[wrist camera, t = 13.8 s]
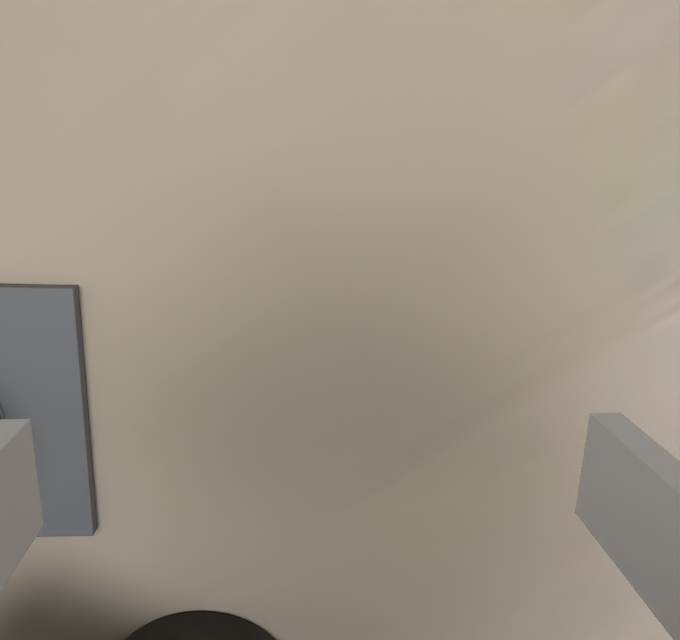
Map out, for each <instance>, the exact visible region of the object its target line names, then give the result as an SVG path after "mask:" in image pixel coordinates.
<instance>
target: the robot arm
mask: <svg viewBox="0 0 680 640" xmlns="http://www.w3.org/2000/svg"><path fill="white" fill-rule="evenodd" d="M575 513H576V514H577V515H578V516H579V518H580V519H581V520H582V522H583V523H584V524H585V526H586V527H587V528H588V529H589V531H590V532H591V533H592V535H593V536H594V537H595V538H596V540H597V541H598V542H599V544H600V545H601V546H602V548H603V549H604V550H605V551H606V553H607V554H608V555H609V557H610V558H611V559H612V561H613V562H614V563H615V564H616V566H617V567H618V568H619V570H620V571H621V572H622V574H623V575H624V576H625V577H626V579H627V580H628V581H629V583H630V584H631V585H632V586H633V588H634V589H635V590H636V592H637V593H638V594H639V596H640V597H641V598H642V599H643V601H644V602H645V603H646V605H647V606H648V607H649V609H650V610H651V611H652V612H653V614H654V615H655V616H656V618H657V619H658V620H659V622H660V623H661V624H662V625H663V627H664V628H665V629H666V631H667V632H668V633H669V634H670V636H671V637H672V638H673V640H680V461H679V460H677V459H676V458H675V457H674V456H672V455H671V454H670V453H669V452H668V451H666V450H665V449H664V448H663V447H661V446H660V445H659V444H658V443H657V442H655V441H654V440H653V439H652V438H650V437H649V436H648V435H647V434H646V433H644V432H643V431H642V430H641V429H639V428H638V427H637V426H636V425H635V424H633V423H632V422H631V421H630V420H628V419H627V418H626V417H625V416H624V415H622V414H621V413H590V418H589V424H588V431H587V437H586V444H585V451H584V457H583V464H582V470H581V477H580V484H579V490H578V497H577V503H576V510H575ZM42 526H43V517H42V509H41V501H40V493H39V485H38V477H37V470H36V462H35V454H34V446H33V438H32V430H31V422H30V419H0V591H1V590H2V588H3V587H4V585H5V584H6V582H7V580H8V579H9V577H10V576H11V574H12V573H13V571H14V570H15V568H16V567H17V565H18V563H19V562H20V560H21V559H22V557H23V556H24V554H25V553H26V551H27V550H28V548H29V547H30V545H31V543H32V542H33V540H34V539H35V537H36V536H37V534H38V533H39V531H40V530H41V528H42ZM126 640H274V639H273V638H272V637H271V636H270V635H269V634H267V633H266V632H265V631H263V630H262V629H260V628H259V627H257V626H255V625H254V624H252V623H250V622H247V621H245V620H243V619H240V618H237V617H234V616H230V615H226V614H220V613H213V612H189V613H181V614H176V615H172V616H168V617H165V618H162V619H159V620H156V621H154V622H152V623H150V624H147V625H146V626H144V627H142V628H140V629H139V630H137V631H136V632H134V633H133V634H132V635H131V636H129V637H128V638H127V639H126Z"/></svg>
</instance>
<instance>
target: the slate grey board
mask: <svg viewBox="0 0 680 640" xmlns="http://www.w3.org/2000/svg"><path fill="white" fill-rule="evenodd" d="M0 405H1V407H2V409H3V414H4V418H5V419H30V422H31V430H32V438H33V446H34V454H35V462H36V470H37V477H38V485H39V493H40V501H41V509H42V517H43V526H42V528H41V530H40V531H39V533H38V534H37V536H36V537H49V536H93V535H94V533H95V531H96V529H97V516H96V503H95V491H94V478H93V466H92V453H91V440H90V428H89V415H88V403H87V390H86V378H85V365H84V353H83V340H82V328H81V315H80V303H79V290H78V285H37V284H0Z"/></svg>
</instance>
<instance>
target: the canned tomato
mask: <svg viewBox="0 0 680 640" xmlns="http://www.w3.org/2000/svg"><path fill="white" fill-rule="evenodd" d="M0 419H5V418H4V414H3V409H2V407H1V405H0Z"/></svg>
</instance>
